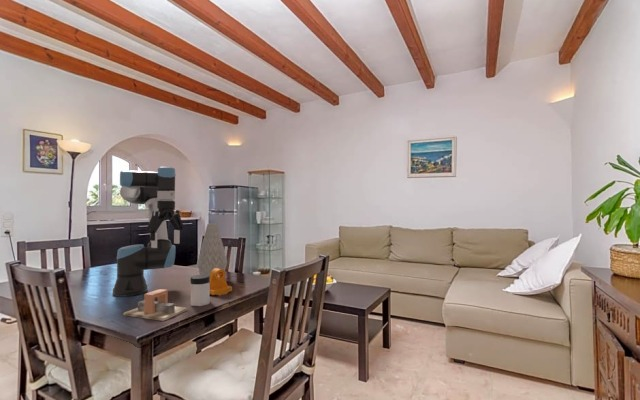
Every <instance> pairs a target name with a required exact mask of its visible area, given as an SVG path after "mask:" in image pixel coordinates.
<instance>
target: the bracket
mask: <svg viewBox="0 0 640 400" xmlns="http://www.w3.org/2000/svg"><path fill="white" fill-rule="evenodd" d="M218 273H219V274H218ZM229 292H233V287H232V286H231V285H228V283H227V280H226V270H225V271H224V270H222V269H219V268H214V269H213V270H212V271H211V274H210V295H211V296H215V295H216V296H217V295H219V296H223V295H226V294H227V293H228V294H229ZM222 294H223V295H222ZM228 294H227V295H228Z"/></svg>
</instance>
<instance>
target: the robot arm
mask: <svg viewBox="0 0 640 400" xmlns="http://www.w3.org/2000/svg"><path fill="white" fill-rule="evenodd" d="M176 176H177V175H176V169H175V168H174V167H171V166H159V167H157V171H139V170H130V169H129V170H121V171H120V173H119V185H120V190H119V194H120V197H121V198H122V199H123V200H125V201H126V202H128V203H130V204H134V205H144V207H145V209H147V211H148V225H147V227H146V229H145V232H146V233H148V234H149V238H150V239H149V240H150V242H148V244H147V246H145V245H144V244H143V243H142V244H141V243H140V244H131V245H126V246H122V247H120V248H118V249H117V253H116V280H115V283H114V286H113V288H112V296H116V297H131V296H136V295H138V296H139V295H140V294H145V293H146V292H148V284H147V281H146V278H145V276H144V275H145V273H144V271H146V270H147V271H148V270H156V269H157V270H159V269H166V268H168V269H169V268H172V267H173V266H174V265H175V259H176V245H174V244H178V245H179V244H180V243H181V242H180V239H181V238H180V237H181V231H183V229H185V228H184V227H185V226H184V223H183V221H182V219H181V216H180V210H179V209H175V208H176V201H175V199H176ZM167 221H169V222H170V224H171V225H172V226H173V228H174V230H173V243H172V240H170V239H169V235H168V228H167V227H168V225H167Z"/></svg>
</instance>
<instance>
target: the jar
mask: <svg viewBox="0 0 640 400" xmlns="http://www.w3.org/2000/svg"><path fill="white" fill-rule="evenodd" d="M189 280H190V281H189V282H190V306H192V307H203V306H207V305H210V304H211V303H210V301H211V299H210V297H211V296H210V295H211V294H210V276H209V275H200V274H196V275H192V276H190V279H189Z"/></svg>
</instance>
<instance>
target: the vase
mask: <svg viewBox="0 0 640 400" xmlns="http://www.w3.org/2000/svg"><path fill="white" fill-rule="evenodd" d="M204 231H205V232H204V238H203V240H202V242H201V243H202V244H201V247H200V249H199V254H198V257H197V262H196V267H197V268H198V272H199V275H209V276H210V274H211V271H212V270H213V269H214V268H219V269H222V270H224V271H225V272H226V267H227V266H228V259H227V256H226V252H225V247H224V243H223V240H222V237H221V233H220V228H219V224H218V223H207V225H206V228H205V230H204ZM218 274H219V273H218Z"/></svg>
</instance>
